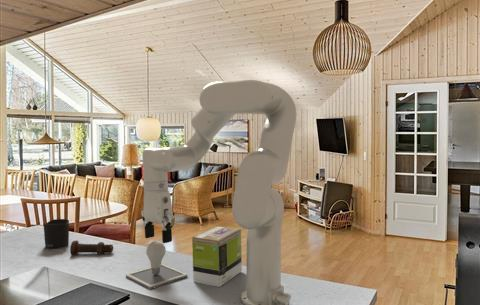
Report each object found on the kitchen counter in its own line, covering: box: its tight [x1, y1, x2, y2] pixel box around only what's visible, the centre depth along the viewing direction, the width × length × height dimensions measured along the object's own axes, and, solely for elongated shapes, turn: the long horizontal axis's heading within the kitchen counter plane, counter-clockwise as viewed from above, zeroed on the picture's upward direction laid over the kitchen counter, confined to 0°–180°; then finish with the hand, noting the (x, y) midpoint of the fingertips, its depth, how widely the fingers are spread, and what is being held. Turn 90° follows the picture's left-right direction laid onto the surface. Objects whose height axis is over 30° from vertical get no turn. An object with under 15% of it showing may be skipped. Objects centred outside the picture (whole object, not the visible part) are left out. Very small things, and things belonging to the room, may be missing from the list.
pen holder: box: [43, 218, 70, 250], centre depth 162 cm, size 9×9×10 cm
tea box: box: [191, 225, 243, 288], centre depth 128 cm, size 15×10×15 cm, turn 152°
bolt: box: [69, 240, 114, 256], centre depth 152 cm, size 6×5×15 cm
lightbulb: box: [145, 240, 167, 275], centre depth 128 cm, size 6×6×11 cm
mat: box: [125, 263, 188, 290], centre depth 129 cm, size 14×14×1 cm
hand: (158, 239), depth 127 cm, fingers open, 9 cm apart
